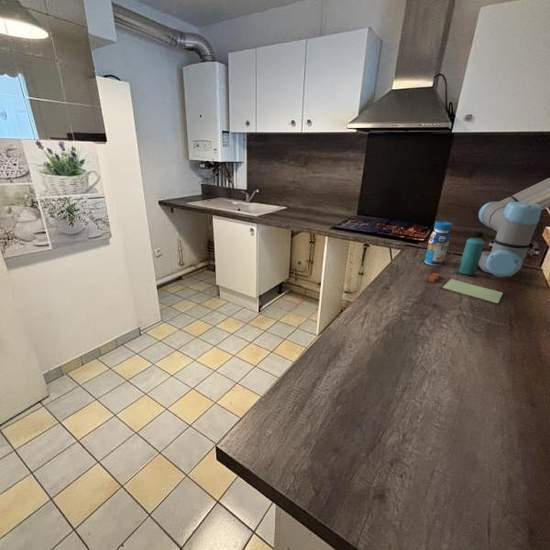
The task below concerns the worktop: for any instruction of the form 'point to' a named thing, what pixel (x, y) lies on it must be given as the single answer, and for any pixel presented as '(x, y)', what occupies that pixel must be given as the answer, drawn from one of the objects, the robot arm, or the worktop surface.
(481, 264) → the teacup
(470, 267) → the beverage bottle
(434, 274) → the crumb
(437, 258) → the beverage bottle
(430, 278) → the crumb
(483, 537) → the worktop surface
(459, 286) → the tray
